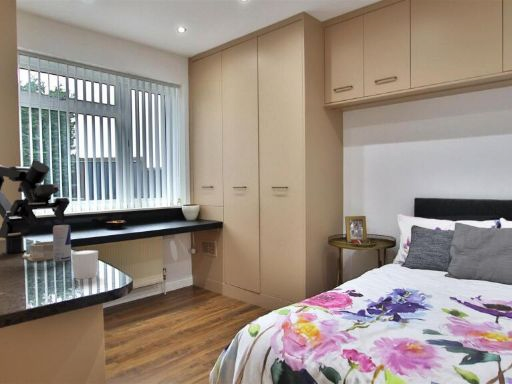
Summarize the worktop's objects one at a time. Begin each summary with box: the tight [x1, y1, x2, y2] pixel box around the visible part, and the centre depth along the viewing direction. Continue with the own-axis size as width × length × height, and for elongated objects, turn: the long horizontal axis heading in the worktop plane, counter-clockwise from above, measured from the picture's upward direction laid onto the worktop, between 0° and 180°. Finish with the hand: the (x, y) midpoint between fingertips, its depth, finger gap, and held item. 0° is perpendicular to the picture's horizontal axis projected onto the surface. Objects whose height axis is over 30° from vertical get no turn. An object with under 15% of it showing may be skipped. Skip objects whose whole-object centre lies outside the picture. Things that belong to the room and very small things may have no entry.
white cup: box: [71, 249, 99, 280], centre depth 101 cm, size 7×7×7 cm
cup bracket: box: [22, 241, 54, 263], centre depth 128 cm, size 11×11×5 cm
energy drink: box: [52, 224, 72, 262], centre depth 123 cm, size 5×5×12 cm
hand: (51, 223), depth 126 cm, fingers open, 9 cm apart
